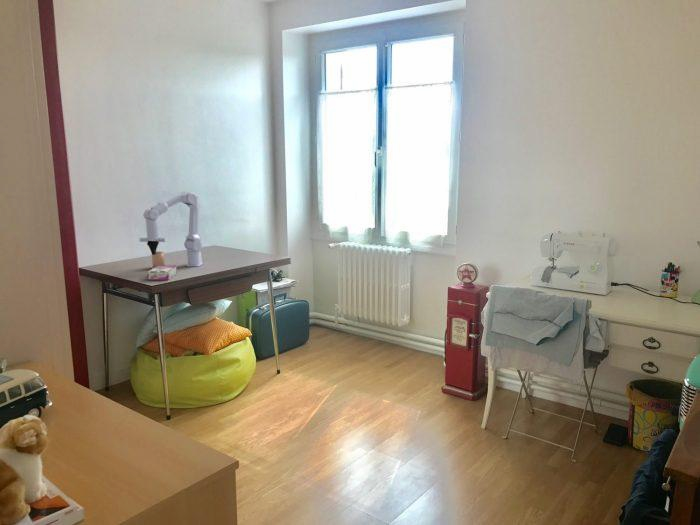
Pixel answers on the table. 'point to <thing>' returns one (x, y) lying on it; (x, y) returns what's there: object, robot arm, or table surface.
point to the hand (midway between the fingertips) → (153, 254)
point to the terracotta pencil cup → (158, 259)
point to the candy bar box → (162, 272)
